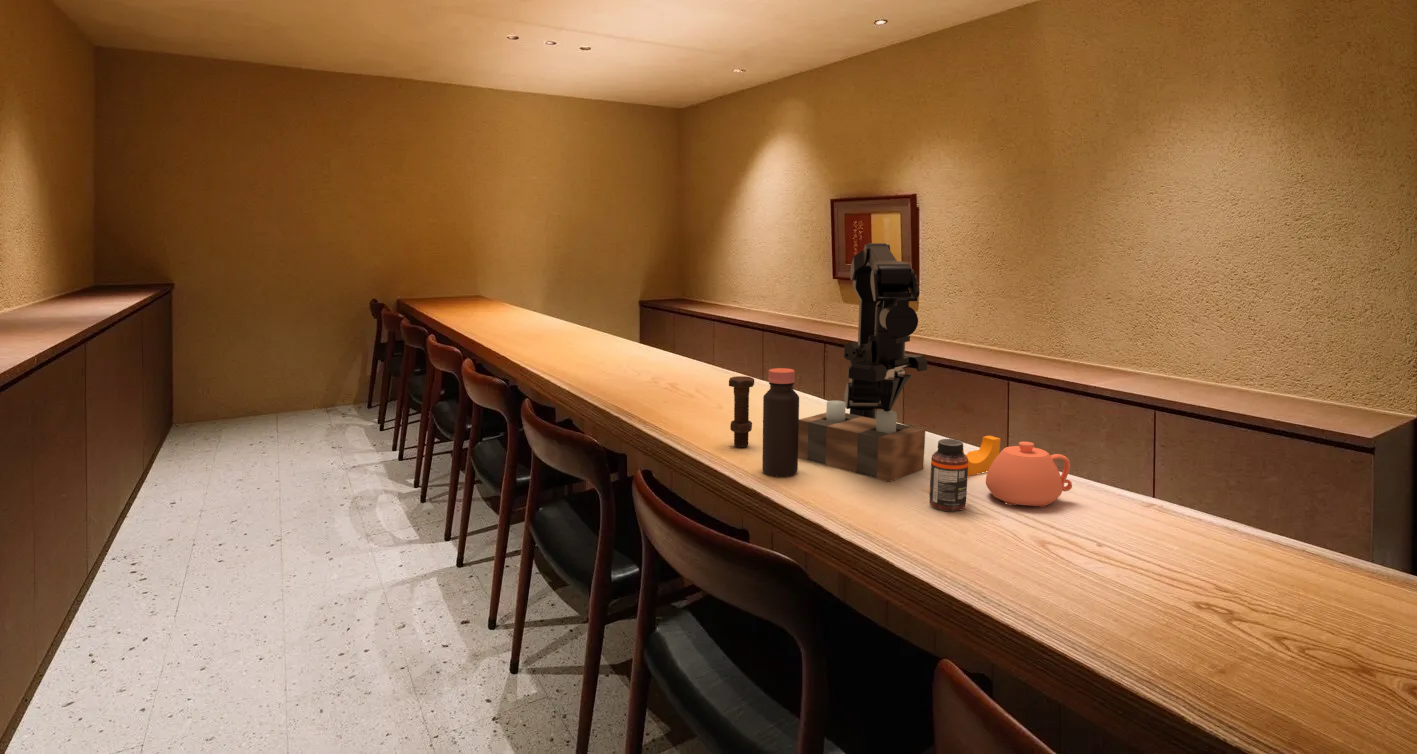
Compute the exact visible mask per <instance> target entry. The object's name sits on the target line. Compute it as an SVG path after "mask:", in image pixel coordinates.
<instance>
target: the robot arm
mask: <svg viewBox="0 0 1417 754" xmlns="http://www.w3.org/2000/svg"><path fill="white" fill-rule="evenodd" d="M850 265H851V266H850V276H849V277H850V281H852V288H853V290H854V292H855V293H856V295H857V297H858V299H859V302H858V305H859V306H858V325H857V326H858V329H857V330H858V331H857V341H852V342H849V343H845V344H844V350H843V358H844V359H845V360H846V361H849V363H850V365H849V366H848V367H847V378H848V382H846V385H845V390H844V394H843V399H844V400H843V401H844V402H846V408H845V410H846V409H847V410H849V414H853V415H858V416H863V417H868V418H873V419H876V416H877V411H878V410H884V411H887V412H888V411H890V410H892V408H893V407H894V406H895V405H894V404H895V403H896V401H897V399H898V397H899V395H900V393H901V392H902V390H903V389H904V387H905V385H906V384H907V382H908V381H909V379H911V378H912V375H911V374H906V373H905V372H906V370H904V369H907V368H910V369H916V371H917V372H923V371H924V372H925V371H927V370H928V359H927V358H926V357H925V356H924V355H923V354H914V353H913V354H912V353H906V343H908V342H910V341H911V335H912V334H914V332H916V330H917V328H918V325H919V318H918V317H919V316H918V314H917V312H916V311H915V309H914V308H912V307H911V306H910V305H909V304H910V302H918V298H919V296H920V287H919V281H918V277H917V274H916V273H915V270H914V269H913V268H912V265H911V264H910V263H908V262H906V261H900V260H899V261H898V260H897V259H896V257H895V256H894V254H893V253H892V251H891V245H890V244H888V243H885V242H884V243H883V242H881V243H877V242H875V243H872V242H871V243H870V242H868V244H864V248H863V249H862V250H861V251H860V252H858V253H857V254H856V255H854V256H853V258H852V261H851V264H850Z"/></svg>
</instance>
